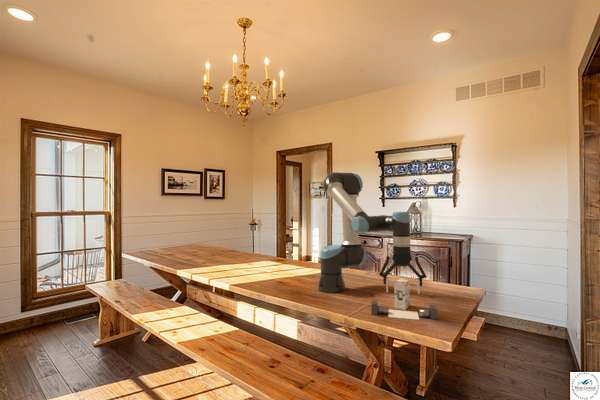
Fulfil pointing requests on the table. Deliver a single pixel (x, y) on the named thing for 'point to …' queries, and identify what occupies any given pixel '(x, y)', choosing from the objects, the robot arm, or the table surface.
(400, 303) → the ink box
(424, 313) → the shaft stub
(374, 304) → the shaft stub
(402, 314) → the pad
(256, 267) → the table surface
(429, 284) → the table surface
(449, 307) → the table surface
